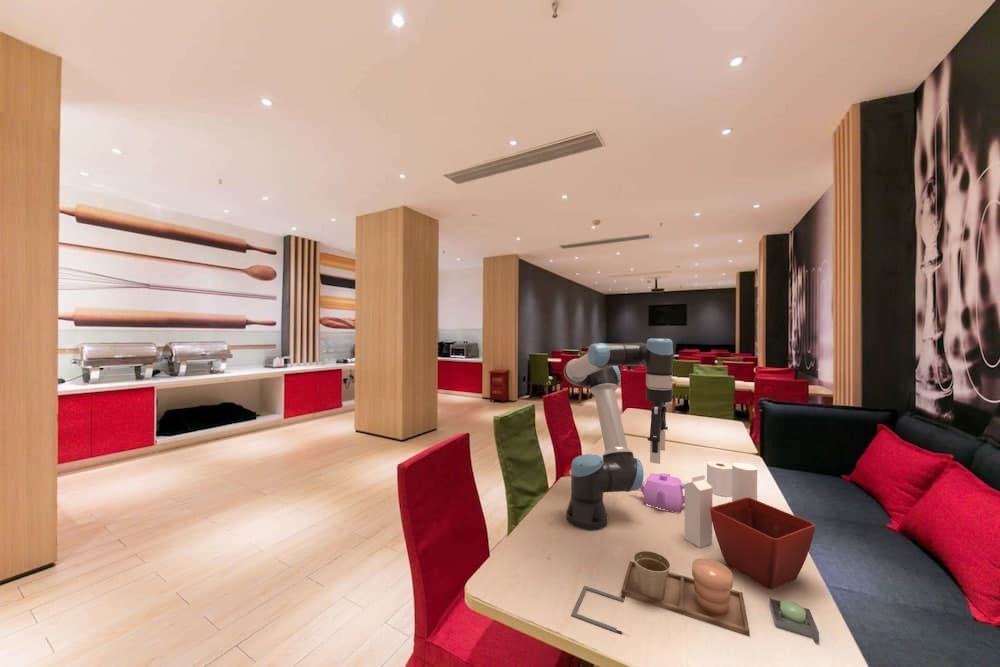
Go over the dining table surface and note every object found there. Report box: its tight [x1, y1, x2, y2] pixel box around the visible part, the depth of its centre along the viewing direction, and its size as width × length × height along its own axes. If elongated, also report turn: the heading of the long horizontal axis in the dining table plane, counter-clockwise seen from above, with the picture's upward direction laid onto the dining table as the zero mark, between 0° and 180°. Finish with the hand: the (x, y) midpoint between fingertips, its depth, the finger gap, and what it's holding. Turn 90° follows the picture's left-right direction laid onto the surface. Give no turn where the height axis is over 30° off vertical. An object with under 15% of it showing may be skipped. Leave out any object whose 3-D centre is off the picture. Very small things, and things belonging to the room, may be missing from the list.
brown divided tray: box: [620, 560, 751, 637], centre depth 98 cm, size 28×15×2 cm, turn 62°
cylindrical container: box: [731, 462, 758, 502], centre depth 126 cm, size 7×7×25 cm
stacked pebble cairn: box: [691, 558, 734, 615], centre depth 94 cm, size 9×9×9 cm
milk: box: [683, 474, 713, 548], centre depth 125 cm, size 6×6×22 cm
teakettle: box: [639, 472, 686, 513], centre depth 152 cm, size 17×17×12 cm
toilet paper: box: [706, 460, 732, 497], centre depth 165 cm, size 10×10×12 cm
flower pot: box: [632, 550, 672, 600], centre depth 98 cm, size 9×9×9 cm
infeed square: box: [570, 585, 626, 635], centre depth 94 cm, size 12×12×1 cm
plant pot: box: [710, 498, 816, 590], centre depth 109 cm, size 19×19×17 cm
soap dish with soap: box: [769, 597, 820, 644], centre depth 89 cm, size 8×8×2 cm
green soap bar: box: [779, 599, 807, 625], centre depth 89 cm, size 5×5×3 cm
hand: (657, 456), depth 115 cm, fingers open, 13 cm apart
